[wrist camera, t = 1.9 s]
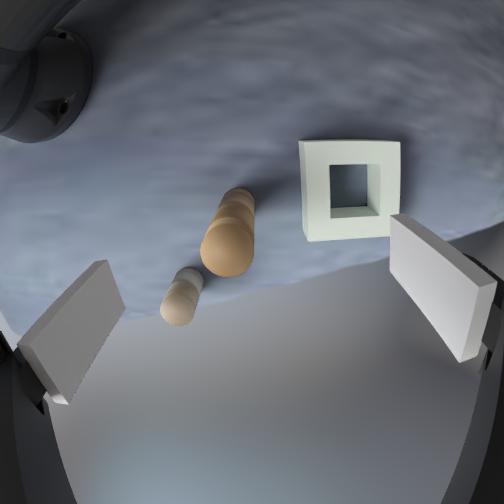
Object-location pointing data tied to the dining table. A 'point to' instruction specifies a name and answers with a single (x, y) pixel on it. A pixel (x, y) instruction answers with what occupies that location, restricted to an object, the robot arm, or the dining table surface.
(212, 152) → the dining table surface
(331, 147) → the hole block
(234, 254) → the long pin
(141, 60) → the dining table surface
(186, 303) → the short pin
